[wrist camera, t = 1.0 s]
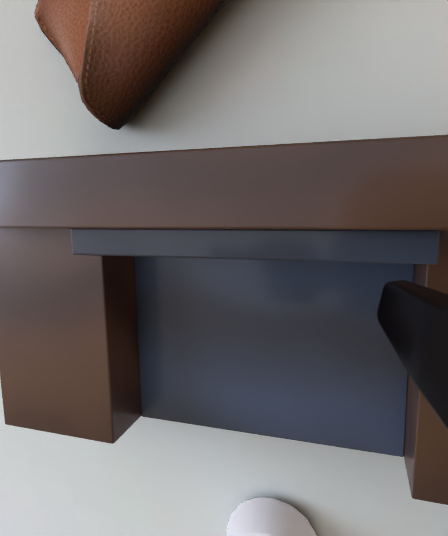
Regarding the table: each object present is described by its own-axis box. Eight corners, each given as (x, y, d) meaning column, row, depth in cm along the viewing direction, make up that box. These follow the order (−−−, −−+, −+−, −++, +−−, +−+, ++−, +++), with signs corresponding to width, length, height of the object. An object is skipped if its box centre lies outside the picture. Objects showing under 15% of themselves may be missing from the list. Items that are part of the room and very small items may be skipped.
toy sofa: (540, 434, 18) (685, 614, 10) (81, 375, 25) (-43, 455, 17) (571, 157, 16) (777, 115, 8) (67, 177, 24) (-79, 164, 16)
